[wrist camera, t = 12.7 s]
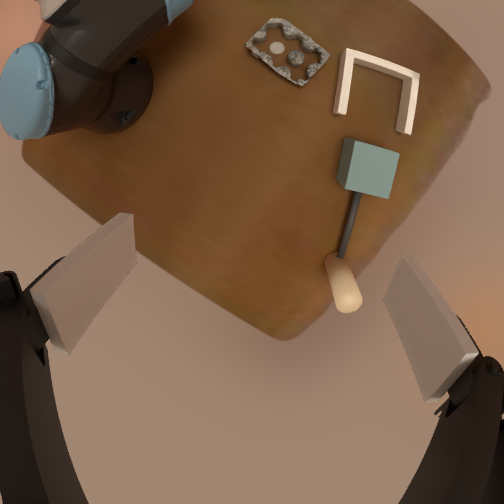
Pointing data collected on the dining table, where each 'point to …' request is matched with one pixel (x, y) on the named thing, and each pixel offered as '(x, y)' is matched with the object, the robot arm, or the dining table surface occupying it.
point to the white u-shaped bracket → (386, 67)
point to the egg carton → (277, 48)
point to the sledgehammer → (361, 181)
